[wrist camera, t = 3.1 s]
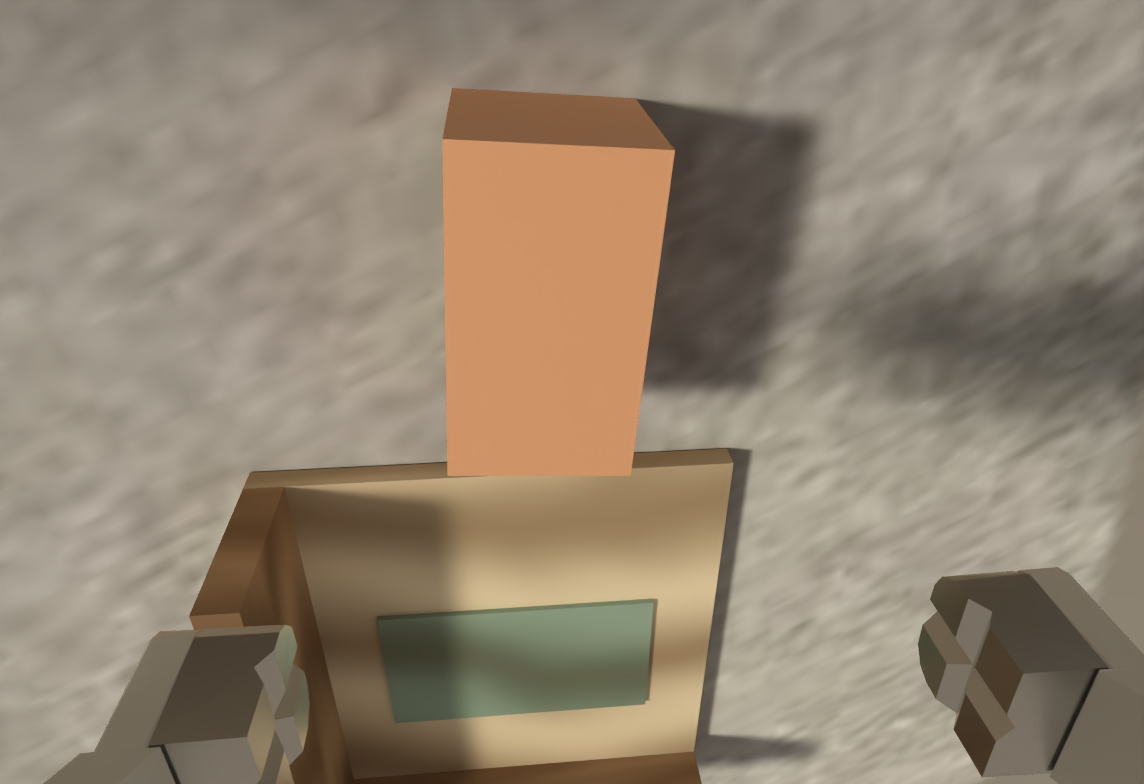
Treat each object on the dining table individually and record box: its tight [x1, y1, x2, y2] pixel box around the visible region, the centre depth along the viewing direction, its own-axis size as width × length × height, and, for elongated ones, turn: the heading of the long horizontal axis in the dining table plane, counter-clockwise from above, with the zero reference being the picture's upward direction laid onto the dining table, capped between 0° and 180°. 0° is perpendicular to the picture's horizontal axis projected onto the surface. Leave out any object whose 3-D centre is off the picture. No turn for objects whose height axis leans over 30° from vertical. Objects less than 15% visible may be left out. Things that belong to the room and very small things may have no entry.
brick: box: [443, 88, 675, 476], centre depth 19 cm, size 8×4×5 cm, turn 176°
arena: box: [189, 448, 734, 784], centre depth 27 cm, size 16×15×6 cm
